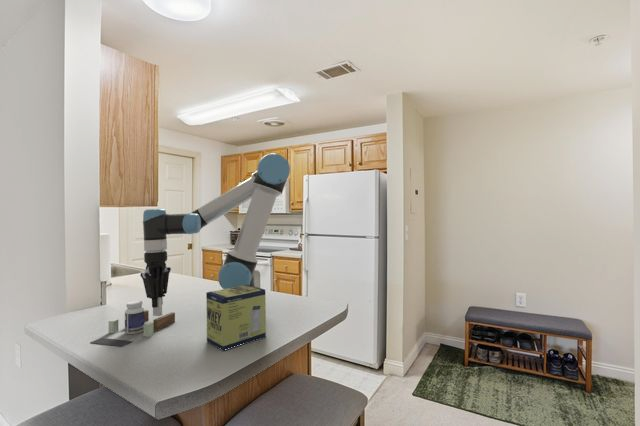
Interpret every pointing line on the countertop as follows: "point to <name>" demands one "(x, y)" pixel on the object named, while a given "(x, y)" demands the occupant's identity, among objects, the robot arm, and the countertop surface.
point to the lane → (161, 320)
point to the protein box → (235, 316)
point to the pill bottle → (134, 317)
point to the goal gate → (147, 327)
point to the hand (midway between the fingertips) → (157, 315)
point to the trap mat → (111, 342)
